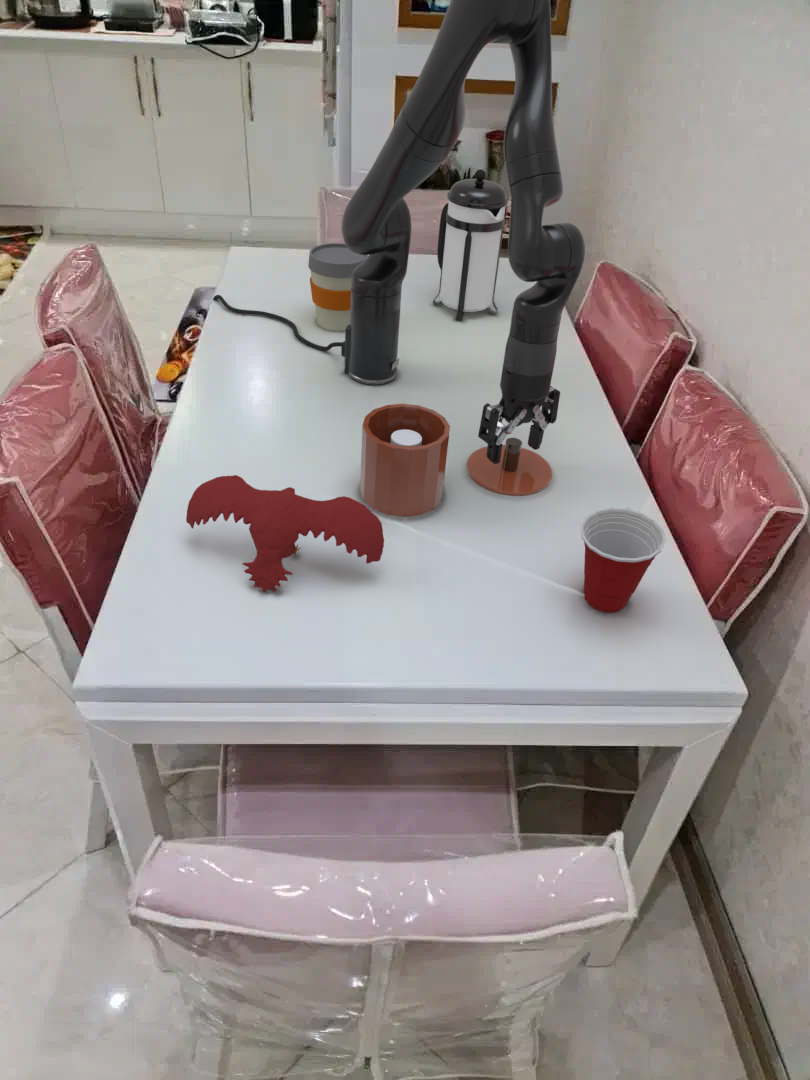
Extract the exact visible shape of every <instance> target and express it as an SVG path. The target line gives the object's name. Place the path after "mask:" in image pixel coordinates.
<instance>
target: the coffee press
mask: <svg viewBox="0 0 810 1080" xmlns="http://www.w3.org/2000/svg"><path fill="white" fill-rule="evenodd" d="M474 177H475V178H465V179H461V180H459V181H457V182H455V183H454V184H453V185H452V186H451V188H450V190H448V191H447V195H446V197H447V201H448V202H447V203H446V204H445V205H444V206H443V208H442V209H441V214H440V220H439V226H438V227H439V229H438V239H437V240H438V241H437V256H436V257H437V263H438V266H439V269H440V279H439V289H438V294H437V295H436V296H435V297H434V298H433V300H432V303H433V305H434V306H439V305H440V304H444V306H446V307H448V309H449V308H450V309H451V310H455V311H456V314H455V321H459V322H462V321H463V319H464V316H465V315H464V314H465V312H466V313H474V312H475V313H476V312H482V311H484V310H487V311H488V312H489V313H490V315H492V316H495V315H496V314H497V313H498V310H499V308H498V306H497V305H496V302H495V296H496V295H495V294H496V287H497V280H498V273H499V272H498V271H499V265H500V258H501V251H502V245H503V244H502V243H503V236H504V229H505V228H504V227H505V223H506V222H505V221H506V215H505V213H506V207H507V205H508V203H509V197H508V195H507V192H506V189H505V188H504V187H503V185H500V183H497V182H495V181H493V180H488V179H486V177H487V173H486V171H485V170H484V169H480V168H479V169H478V170H476V172H475V173H474ZM438 297H439V298H440V301H439V302H437V301H436V299H437V298H438ZM491 305H493V308H494V309H495V311H493V310H492V309H491V308H490V306H491Z"/></svg>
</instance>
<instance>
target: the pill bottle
mask: <svg viewBox="0 0 810 1080" xmlns="http://www.w3.org/2000/svg"><path fill="white" fill-rule="evenodd" d="M390 443H391V444H393V445H399V446H408V447H413V446H422V437H421V435H420V434H419V433H417V432H415V431H412V430H397V431H395V432H393V433H392V435H391V441H390Z"/></svg>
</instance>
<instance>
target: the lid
mask: <svg viewBox="0 0 810 1080" xmlns="http://www.w3.org/2000/svg"><path fill="white" fill-rule="evenodd" d="M522 446H523V441H522V440H521V439H520V438H517V437H508V438H506V440H505V443H504V444H503V445H502V451H501V457H500V463H498V464H494V463H492V462H491V461H490V460H489V459H488V458H487V456H486V455H487V448H488V445H487V446H483V447H481V448H478V449H476V450H475V451H473V452H472V453H471V454H470V455H469V457H468V459H467V461H466V471H467V474H468V476H469V477H470V478H471V479H472V481H473V482H475V483H476V484H477V485H479V486H480V487H482V488H484V489H486V490H488V491H491V492H493V493H497V494H500V495H506V496H516V497H517V496H518V497H519V496H527V495H534V494H537V493H539V492H542V491H543V490H545V489H546V488H547V487H548V485H550V483H551V481H552V478H553V470H552V467H551V465H550V463H549V462H548V461H547V460H546V459H545V458H544V457H543V456H542V455H540V454H539V453H537V452H534V451H532V450H530V449H528V448H524V447H522Z"/></svg>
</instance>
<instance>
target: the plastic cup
mask: <svg viewBox="0 0 810 1080" xmlns="http://www.w3.org/2000/svg"><path fill="white" fill-rule="evenodd" d="M579 527H580V528H579V529H580V537H581V539H582V541H583V543H584V564H583V565H584V568H583V576H584V580H583V581H584V582H583V594H584V600H585V601H586V603H587V604H588V605H589V606H591V608H593V609H594V610H597V611H598V612H602V613H608V614H609V613H610V614H612V613H618V612H619V611H621V610H623V609H624V608H625V607H626V606H627V604H628V602H629V600H630V599H631V597H632V595H633V594H634V593H635V592H636V590H637V588H638V586H639V584H640V583H641V581H642V579H643V577H644V576H645V574H646V572H647V570H648V569H649V567H650V566H651V564H652V562H653V561H654V560H655V558H656V557H657V555H659V554H660V553H661V552H662V551H663V549H664V546H665V544H666V542H667V536H666V533H665V529H664V528H663V527H662V526H661V525H660V524H659V523H658V521H657V520H656V519H654V518H652V517H651V516H649V515H647V514H645V513H643V512H641V511H637V510H634V509H631V508H627V507H607V508H602V509H597V510H594V511H593V512H591V513H590V514H588V515H586V516H585V517H584V518H583V520H582V521H581V524H580V525H579Z"/></svg>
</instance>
